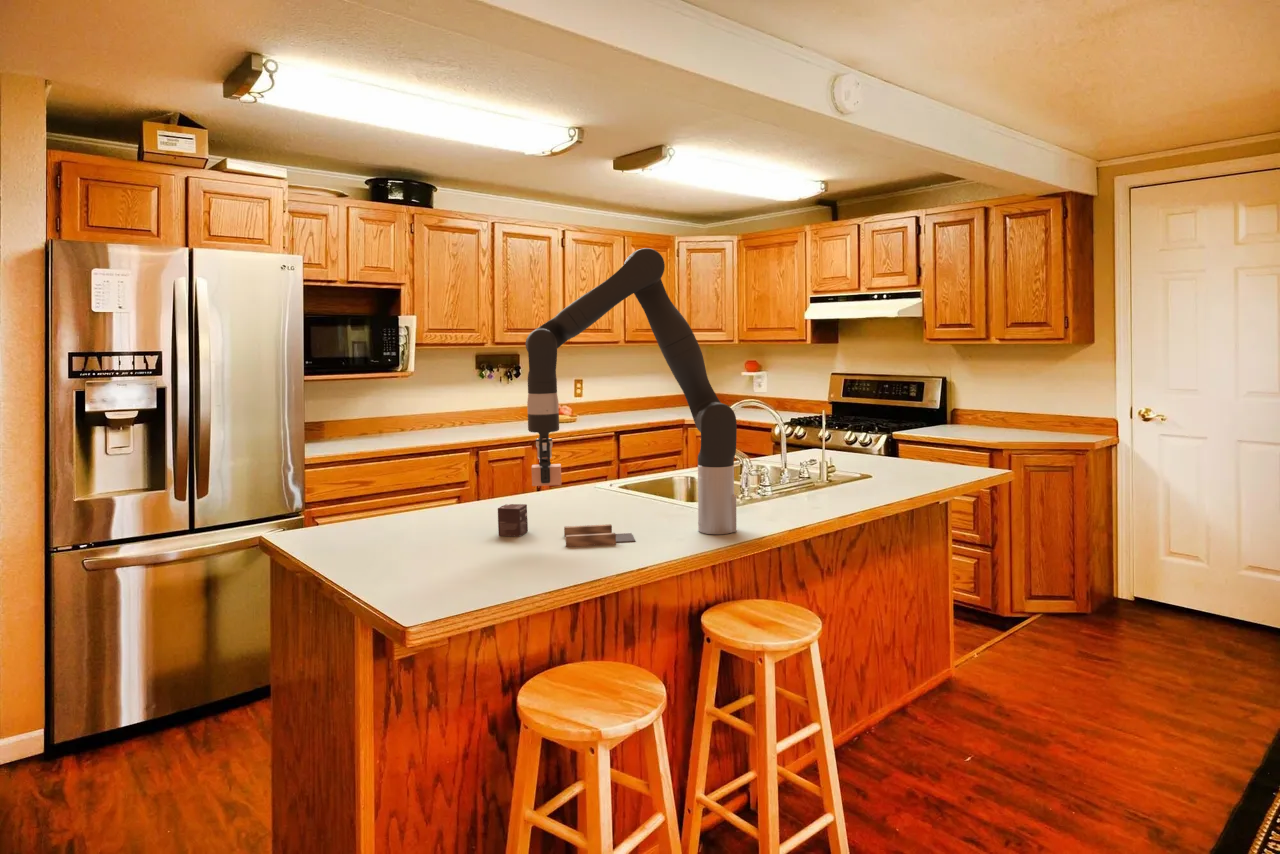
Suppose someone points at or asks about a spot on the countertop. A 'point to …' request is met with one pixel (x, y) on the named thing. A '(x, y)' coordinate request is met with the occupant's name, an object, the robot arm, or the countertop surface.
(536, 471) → the block
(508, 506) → the box
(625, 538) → the mat
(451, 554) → the countertop surface
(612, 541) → the brown wooden channel
